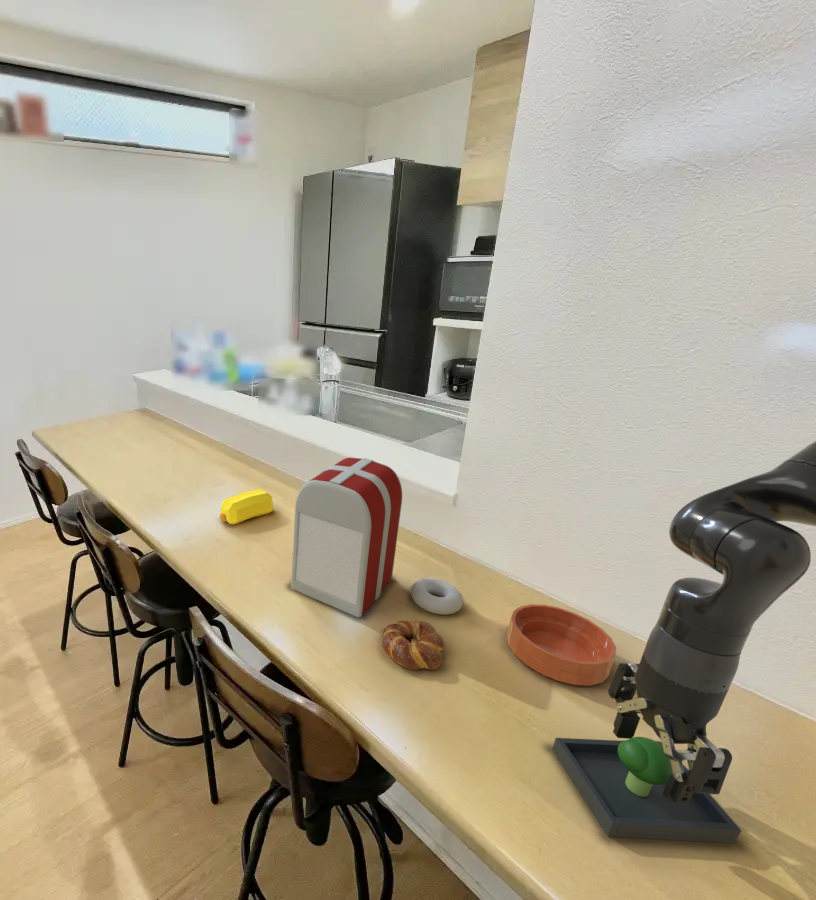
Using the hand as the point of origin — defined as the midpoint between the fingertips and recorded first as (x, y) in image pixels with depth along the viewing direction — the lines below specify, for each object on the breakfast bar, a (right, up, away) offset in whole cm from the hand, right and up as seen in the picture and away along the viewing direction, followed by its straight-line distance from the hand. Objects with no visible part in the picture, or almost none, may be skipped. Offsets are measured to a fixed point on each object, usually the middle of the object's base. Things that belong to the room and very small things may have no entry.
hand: (646, 765), depth 63 cm
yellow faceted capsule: (-46, +22, +76) cm, 92 cm away
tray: (0, -5, +2) cm, 5 cm away
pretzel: (-20, +4, +26) cm, 33 cm away
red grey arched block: (-27, +11, +46) cm, 54 cm away
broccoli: (0, -4, +1) cm, 4 cm away
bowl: (+5, +4, +25) cm, 26 cm away
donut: (-10, +9, +39) cm, 41 cm away
